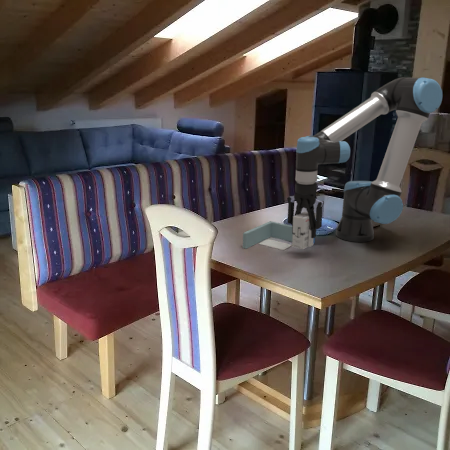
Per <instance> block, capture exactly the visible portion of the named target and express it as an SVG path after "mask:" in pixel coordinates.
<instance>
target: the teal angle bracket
mask: <svg viewBox="0 0 450 450" xmlns="http://www.w3.org/2000/svg"><path fill="white" fill-rule="evenodd" d="M292 237H293V234H292V225H291V224H286V223H282V222H281V223H280V222H276V221H272V220H270V221H267V222H265V223H263V224H260V225H258V226H255V227H254V228H251V229H249V230H247V231H244V232H243V233H242V249H248V248H251V247H253V246H255V245H257V244H259V243H261V242H263V241H265V240H267V239H270V238H275V239H279V240H283V241H287V242H291V243H292Z"/></svg>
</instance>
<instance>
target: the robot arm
mask: <svg viewBox="0 0 450 450" xmlns="http://www.w3.org/2000/svg"><path fill="white" fill-rule="evenodd" d="M442 101H443V89H442V88H441V85H440V84H439V83H438V81H436V79H434V78H433V79H432V78H427V77H408V76H405V77H399V78H395V79H393V80H392V81H389V82H387V83H386V84H384V85H382V86H380V87H379V88H377V89H376V90H375V91H373V92H371V95H370V97H369V98H367V99H366V100H365V101H363V102H361V103H360V104H359V105H357V106H356V107H353V108H352V109H351V110H350V111H349V112H347V113H346V114H344V115H342V116H341V117H339V118H338V119H337V120H335V121H334V122H332V123H331V124H329V125H328V126H326V127H325V128H323V129H322V130H320V131H319V132H317V133H316V134H314V135H306V136H302V137H299V138H298V139H297V143H296V147H295V148H296V149H295V152H296V153H295V155H296V157H295V159H296V160H295V178H294V179H295V184H294V186H295V187H294V192H295V193H294V195H289V196H288V197H287V199H286V200H287V203H288V204H287V221H286V222H287V225H291V226H292V234H293V216H295V215H298V214H300V213H302V210H303V209H305V210H306V212H308V216H309V221H310V226H311V229H309V237H308V247H307V248H311V247H313V246H314V244H313V241H314V238H316V236H317V230H319V229H320V228H322V227H323V207H324V205H325V201H323V200H319V199H318V197H317V191H318V190H317V187H318V183H317V181H318V170H319V165H327V164H328V165H330V164H340V163H341V164H343V163H346V162H347V161H348V160H349V159H350V157H351V147H350V145H349V143H348V142H347V141H344V140H345V139H346V138H348V137H350V136H351V135H352V134H354V133H355V132H357V131H358V130H360V129H362V128H363V127H364V126H366V125H367V124H369V123H371V122H372V121H374V120H375V119H376V118H377V117H379V116H381V115H387V114H389V113H390V112H392V111H394V110H395V113H396V116H397V120H396V123H395V126H394V127H393V128H394V129H393V131H392V134H391V138H390V139H389V143H388V145H387V149H386V152H385V155H384V156H383V157H384V158H383V160H382V163H381V166H380V169H379V172H378V174H377V177H376V179H375V180H373V181H370V180H351V181H350V180H349V181H347V182H346V183H345V184H344V189H343V202H342V209H341V210H342V211H341V212H342V213H341V217H340V220H339V223H338V224H337V227H336V228H335V229H336V230H335V236H336V237H337V238H339V239H341V240H344V241H348V242H354V243H365V242H371V241H373V240H374V238H375V232H374V231H375V230H374V226H373V222H375V223H379V224H383V225H388V224H391V223H392V222H394V221H396V220H397V219H398V218H399V217H400V216H401V214H402V212H403V209H404V204H403V203H404V202H403V200H402V198H401V197H402V196H401V195H402V194H403V193H402V192H403V191H402V189H401V187H400V186H401V183H402V180H403V178H404V174H405V171H406V169H407V166H408V163H409V161H410V158H411V154H412V153H413V152H412V151H413V148H415V147H414V146H415V143H416V140H417V139H418V138H417V137H418V135H419V132H420V129H421V127H422V123H424V122H427V121H428V120H429V117H430V116H431V115H430V114H432V113H434V112H436V111H437V110H438V109H439V108H440V106H441V104H442ZM295 202H296V207H295ZM314 205H315V207H316V208H315V207H314ZM314 213H316V219H315V214H314ZM372 221H373V222H372Z"/></svg>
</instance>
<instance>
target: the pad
mask: <svg viewBox="0 0 450 450" xmlns="http://www.w3.org/2000/svg"><path fill="white" fill-rule="evenodd" d="M258 245H261V246H264V247H269V248H273V249H276V250H279V251H280V250H281V251H285V250H287V249H289V248H291V247H292V244H291V243H287V242H283V241H277V240H274V239H270V238H268V239H266V240H263V241H261V242H259V243H258Z"/></svg>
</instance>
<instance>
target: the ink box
mask: <svg viewBox="0 0 450 450" xmlns="http://www.w3.org/2000/svg"><path fill="white" fill-rule="evenodd" d="M314 214H315V219H316V212H314ZM294 215H295V214H294ZM309 229H311V226H310V221H309V216H308V212H307V210H305V211H303V212H302V211H301V213H300V214H298V215H295V216H293V237H292V242H291V243H292V244H291V245H292V246H291V247H293V248H295V249H300V250H304V249H306V248H309V247H308V237H309ZM315 238H316V237H315ZM315 238H314V241H313V245H314V244H315V242H316V239H315Z"/></svg>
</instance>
